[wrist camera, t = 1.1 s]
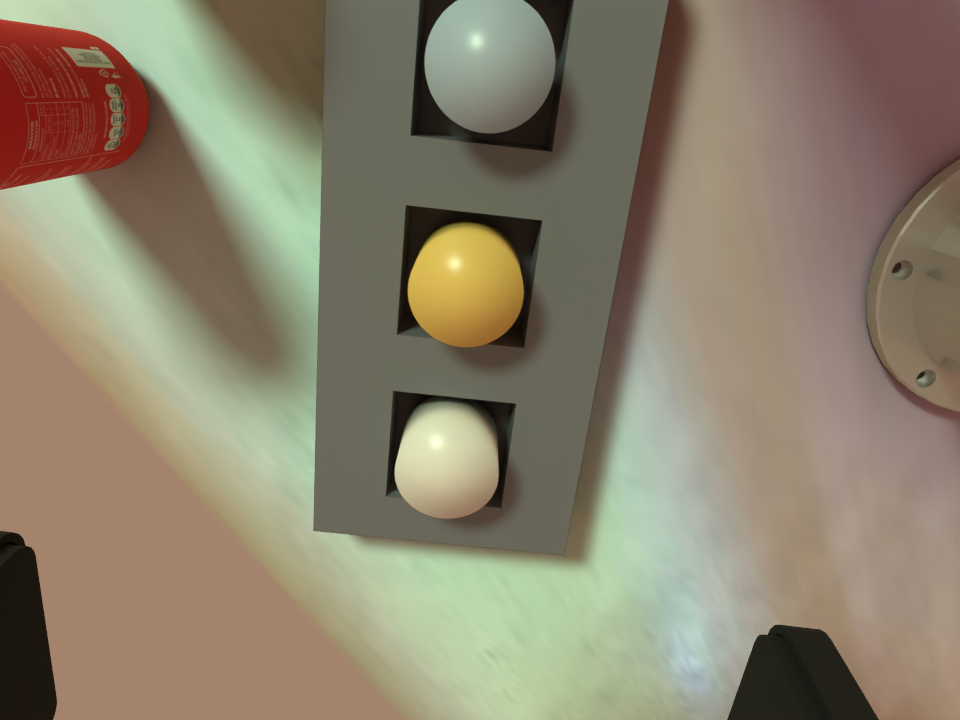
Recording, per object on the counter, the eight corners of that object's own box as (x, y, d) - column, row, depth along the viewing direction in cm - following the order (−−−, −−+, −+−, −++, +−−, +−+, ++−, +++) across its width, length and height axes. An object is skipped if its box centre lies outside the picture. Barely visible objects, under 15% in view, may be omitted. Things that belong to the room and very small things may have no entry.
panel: (661, -55, 26) (682, -73, 23) (557, 518, 35) (564, 555, 33) (345, -95, 25) (328, -117, 23) (327, 495, 35) (313, 530, 32)
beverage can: (135, 189, 29) (-80, 249, 18) (17, 125, 28) (-285, 147, 17) (178, 77, 28) (-30, 68, 17) (55, 5, 27) (-253, -56, 16)
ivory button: (503, 399, 31) (504, 434, 28) (491, 481, 33) (492, 523, 30) (407, 389, 31) (397, 423, 28) (400, 472, 33) (391, 513, 29)
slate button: (555, 10, 25) (564, -1, 22) (538, 134, 27) (545, 140, 24) (437, -4, 25) (430, -18, 22) (427, 121, 27) (419, 125, 24)
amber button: (526, 225, 28) (531, 242, 25) (512, 325, 30) (515, 353, 27) (420, 213, 28) (412, 228, 25) (412, 314, 30) (403, 341, 26)
